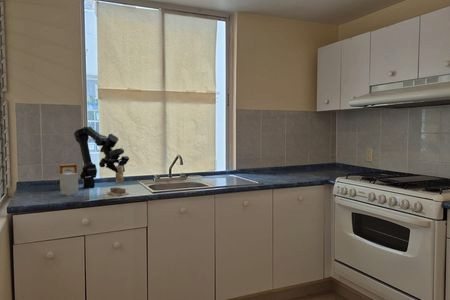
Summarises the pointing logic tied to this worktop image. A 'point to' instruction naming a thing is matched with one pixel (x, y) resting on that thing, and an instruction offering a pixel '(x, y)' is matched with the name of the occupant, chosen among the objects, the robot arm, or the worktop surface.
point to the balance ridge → (117, 191)
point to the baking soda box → (68, 168)
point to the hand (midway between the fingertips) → (120, 171)
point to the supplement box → (69, 183)
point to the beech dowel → (119, 174)
